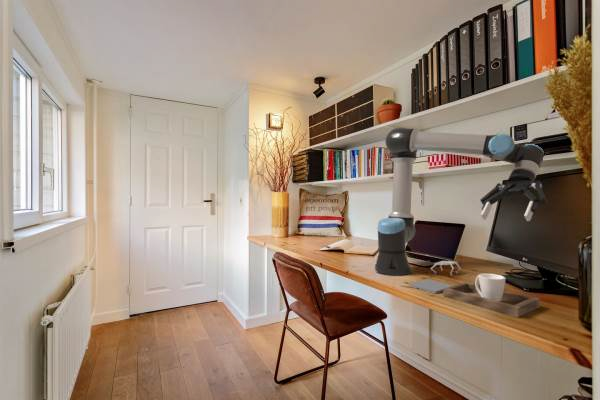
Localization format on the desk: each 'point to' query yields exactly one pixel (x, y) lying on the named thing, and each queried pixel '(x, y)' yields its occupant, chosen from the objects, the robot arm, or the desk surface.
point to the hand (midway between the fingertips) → (503, 217)
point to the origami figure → (446, 264)
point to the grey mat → (430, 285)
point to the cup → (491, 286)
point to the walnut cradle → (522, 308)
